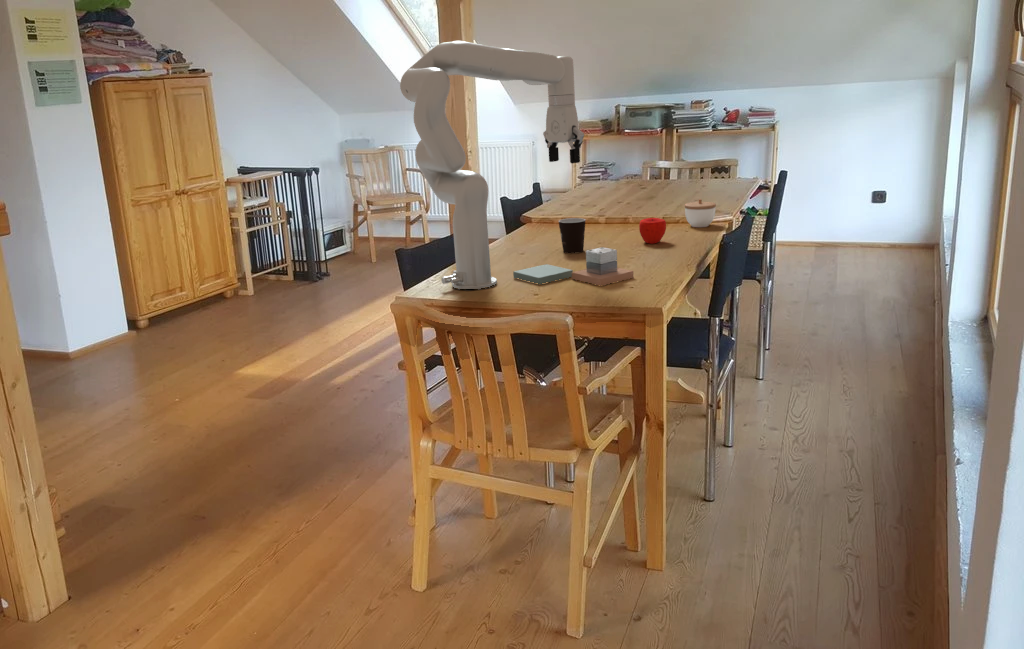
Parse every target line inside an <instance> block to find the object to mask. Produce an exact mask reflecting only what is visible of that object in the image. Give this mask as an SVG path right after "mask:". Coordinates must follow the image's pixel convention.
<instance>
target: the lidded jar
mask: <svg viewBox="0 0 1024 649" xmlns="http://www.w3.org/2000/svg"><path fill="white" fill-rule="evenodd" d="M702 200H703V199H702V198H699V199H698V201H693V202H692V201H691V202H686V203H685V204H684V214H685V215H684V216H685V218H686V221H687V223H688V224H690V226H691V227H693V228H707V227H709V226H710V225H711V223H713V221H714V219H715V215H716V206H717V205H716V202H713V201H702Z"/></svg>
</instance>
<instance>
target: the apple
mask: <svg viewBox="0 0 1024 649" xmlns="http://www.w3.org/2000/svg"><path fill="white" fill-rule="evenodd" d="M638 228H639V233H640V236H641V238H642V240H643V242H644V243H646V244H657V243H659V242H660V241H661V240H662V239H663V237H664V235H665V233H666V230H667V222H666V220H665V219H663V218H659V217H648V218H647V217H646V218H643V219H640V221H639V226H638Z"/></svg>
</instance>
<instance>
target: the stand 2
mask: <svg viewBox="0 0 1024 649" xmlns="http://www.w3.org/2000/svg"><path fill="white" fill-rule="evenodd" d="M630 278H632V279H634V270H631V269H627V268H620V267H617V272H613V273H608V274H604V275H598V274H593V273H589V272H587V269H586V268H585V269H581V270H575V271H573V272H572V277H571V280H572V279H575V280H574V281H577V280H580V281H579V282H581V281H584V282H583V283H585V282H588V283H587V284H589V283H592V284H591V285H593V284H596V285H595V286H597V285H600V286H599V287H602V286H601V285H604V286H606V284H608V285H611V284H610V283H612V284H614V283H613V282H616V283H618V282H617V281H620V282H623V281H622V280H624V281H627V280H626V279H628V280H630Z"/></svg>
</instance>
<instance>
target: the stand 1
mask: <svg viewBox="0 0 1024 649" xmlns="http://www.w3.org/2000/svg"><path fill="white" fill-rule="evenodd" d="M512 272H513V273H512V274H513V279H514V278H519V279H522V280H526V281H530V282H534V283H538V284H541V285H543V284H542V283H546V282H550V283H552V282H551V281H554V282H556V281H555V280H558V281H560V280H559V279H563V280H565V279H564V278H567V279H570V278H569V277H571V278H572V272H574V270H573V269H570V268H566V267H561V266H556V265H552V264H547V263H546V264H541V265H536V266H532V267H528V268H524V269H519V270H514V271H512ZM522 280H521V281H522ZM526 281H525V282H526ZM530 282H529V283H530ZM546 284H547V283H546Z"/></svg>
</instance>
